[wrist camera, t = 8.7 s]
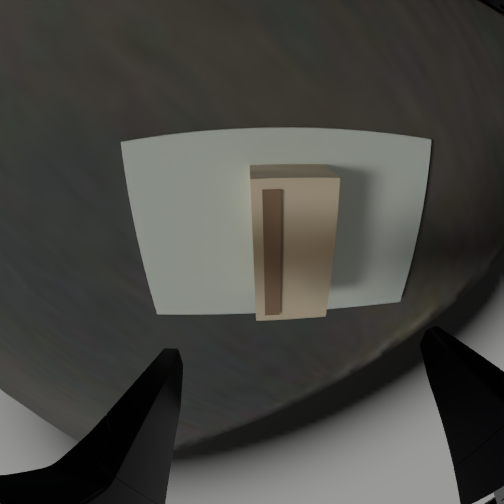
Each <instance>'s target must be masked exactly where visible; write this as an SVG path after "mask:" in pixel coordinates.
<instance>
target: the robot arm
mask: <svg viewBox="0 0 504 504" xmlns="http://www.w3.org/2000/svg"><path fill="white" fill-rule="evenodd" d="M481 1H483V2H485V3H486V4H488V5H490V6H491V7H493V8H494V9H496V10H497V11H499V12H501V13H504V0H481ZM420 349H421V353H422V356H423V360H424V364H425V368H426V372H427V376H428V379H429V383H430V386H431V389H432V392H433V395H434V398H435V401H436V404H437V407H438V410H439V414H440V417H441V420H442V423H443V427H444V431H445V434H446V437H447V442H448V445H449V449H450V453H451V457H452V461H453V466H454V471H455V476H456V480H457V485H458V491H459V497H460V503H461V504H472V503H474V502H476V501H478V500H480V499H482V498H484V497H486V496H487V495H489V494H491V493H493V492H494V495H495V497H494V498H492V499H491V500H489V501H488V502H486V503H485V504H504V372H503V371H502V370H500V369H499V368H498V367H496V366H495V365H494V364H492V363H491V362H489V361H488V360H486V359H485V358H484V357H482V356H481V355H479V354H478V353H477V352H475V351H474V350H472V349H470V348H469V347H468V346H466V345H465V344H463V343H462V342H460V341H459V340H458V339H456V338H455V337H453V336H452V335H450V334H449V333H447V332H446V331H444V330H443V329H441V328H440V327H438V326H432V327H428V328H427V329H426V331H425V333H424V336H423V338H422V340H421V343H420ZM182 377H183V363H182V360H181V356H180V353H179V350H178V349H177V348H176V347H166V348H164V350H163V351H162V352H161V353H160V354H159V355H158V356H157V357H156V359H155V360H154V361H153V362H152V363H151V364H150V365H149V367H148V368H147V369H146V370H145V371H144V372H143V373H142V374H141V376H140V377H139V378H138V379H137V380H136V381H135V382H134V384H133V385H132V386H131V387H130V388H129V389H128V390H127V391H126V393H125V394H124V395H123V396H122V397H121V398H120V399H119V401H118V402H117V403H116V404H115V405H114V406H113V407H112V408H111V410H110V411H109V412H108V413H107V416H104V417H103V419H102V420H101V421H100V422H99V423H98V424H97V425H96V426H95V427H94V428H93V430H92V431H91V432H90V433H89V434H88V435H86V436H85V437H84V438H83V439H82V440H81V441H80V442H79V443H78V444H77V445H76V446H75V447H73V448H72V449H71V450H70V451H69V452H68V453H67V454H65V455H64V456H63V457H62V458H61V459H60V460H58V461H57V462H56V463H54V464H52V465H51V466H48V467H46V468H42V469H37V470H33V471H27V472H21V473H16V474H9V475H0V504H165V499H166V492H167V485H168V479H169V472H170V466H171V460H172V454H173V448H174V442H175V436H176V430H177V425H178V419H179V414H180V407H181V392H182Z"/></svg>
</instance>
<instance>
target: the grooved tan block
mask: <svg viewBox="0 0 504 504" xmlns="http://www.w3.org/2000/svg"><path fill="white" fill-rule="evenodd" d="M339 188H340V177H339V176H337V175H336V174H335V173H334V172H333V171H332V170H330V169H329V168H328V167H327V166H326V165H324V164H264V165H250V189H251V212H252V235H253V258H254V282H255V306H256V321H262V320H281V319H297V318H312V317H324V316H326V310H327V304H328V297H329V289H330V282H331V274H332V266H333V257H334V248H335V238H336V227H337V216H338V203H339Z"/></svg>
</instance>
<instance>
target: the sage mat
mask: <svg viewBox="0 0 504 504" xmlns="http://www.w3.org/2000/svg"><path fill="white" fill-rule="evenodd" d="M121 148H122V155H123V162H124V169H125V175H126V182H127V188H128V193H129V199H130V204H131V210H132V215H133V220H134V225H135V229H136V234H137V239H138V243H139V247H140V252H141V256H142V260H143V264H144V268H145V272H146V276H147V280H148V283H149V287H150V291H151V294H152V298H153V302H154V305H155V308H156V312H157V314H243V313H256V306H255V282H254V258H253V235H252V212H251V189H250V165H264V164H324V165H326V166H327V167H328V168H329V169H330V170H332V171H333V172H334V173H335V174H336V175H337V176H339V177H340V188H339V203H338V216H337V227H336V238H335V248H334V257H333V266H332V274H331V282H330V289H329V297H328V304H327V309H332V308H344V307H355V306H366V305H375V304H385V303H393V302H400V300H401V297H402V293H403V290H404V287H405V283H406V280H407V276H408V272H409V269H410V265H411V261H412V257H413V253H414V249H415V244H416V240H417V235H418V230H419V226H420V221H421V215H422V210H423V204H424V198H425V192H426V185H427V178H428V170H429V161H430V151H431V139H428V138H422V137H415V136H408V135H401V134H393V133H385V132H375V131H365V130H352V129H337V128H314V127H256V128H233V129H217V130H204V131H194V132H184V133H175V134H167V135H159V136H152V137H145V138H139V139H133V140H127V141H123V142H121Z"/></svg>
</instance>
